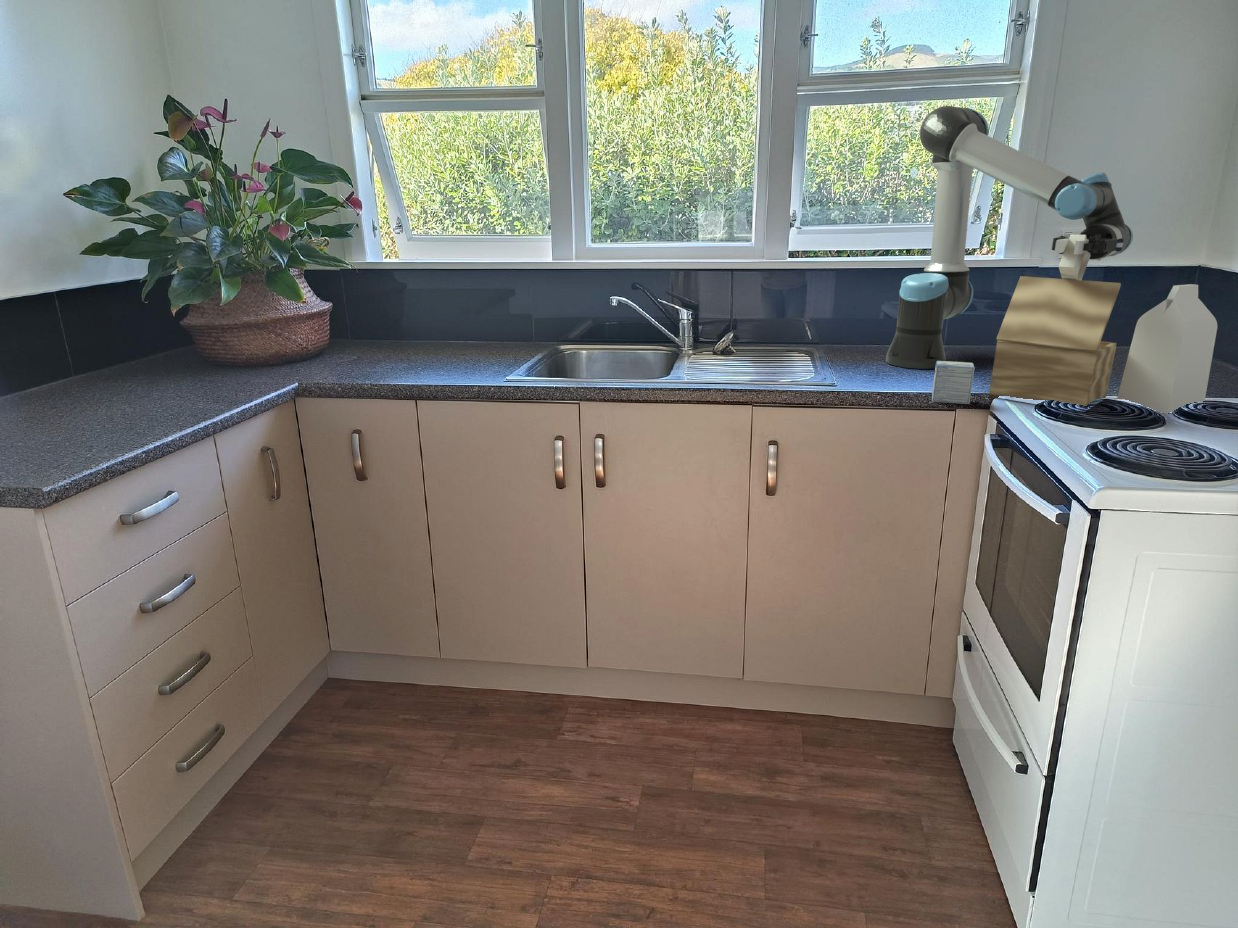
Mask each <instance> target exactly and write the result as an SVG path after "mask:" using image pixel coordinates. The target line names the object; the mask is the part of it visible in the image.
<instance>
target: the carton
mask: <svg viewBox="0 0 1238 928" xmlns="http://www.w3.org/2000/svg"><path fill="white" fill-rule="evenodd" d="M1117 345H1118V344H1117V342H1111V341H1102V340H1101V341H1100V344H1099V347H1098V350H1097V352H1096V353H1094V352H1086V351H1078V350H1070V349H1061V348H1053V347H1045V346H1037V345H1028V344H1020V343H1012V342H1004V341H997V340H996V347H995V352H994V353H995V354H994V358H993V359H994V361H993V366H992V372H991V379H990V384H989V385H990V387H989V393H988V398H992V399H997V398H998V397H999V396H1010V397H1016V398H1023V399H1033V400H1045V401H1046V400H1054V401H1059V402H1065V403H1071V404H1079V405H1083V406H1087V405H1088V404H1090V402H1092V401H1093V400H1094V399H1099V398H1106V399H1107V393H1108V390H1109V385H1110V379H1111V374H1112V369H1113V364H1114V359H1115V354H1116V349H1117Z"/></svg>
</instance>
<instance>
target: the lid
mask: <svg viewBox="0 0 1238 928" xmlns="http://www.w3.org/2000/svg"><path fill="white" fill-rule="evenodd" d="M1068 238H1069V240H1068V243H1067V245H1066V248H1065V251H1064V253H1063V254H1062V257H1061V259H1060V261H1059V264H1058V270H1059V273H1060V277H1061V278H1056V277H1055V278H1052V277H1051V278H1050V277H1041V276H1040V277H1039V276H1038V277H1036V276H1025V275H1024V276H1023V275H1021V276H1019V278H1018V279H1019V280H1018V281H1017V284H1016V287H1015V289H1014V291H1013V294H1012V296H1011V300H1010V302H1009V306H1008V308H1007V310H1006V312H1005V315H1004V318H1003V319H1002V323H1001V325H1000V328H999V330H998V334H997V336H996V342H997V341H1004V342H1012V343H1020V344H1028V345H1037V346H1045V347H1053V348H1061V349H1070V350H1078V351H1086V352H1094V353H1096V352H1097V350H1098V347H1099V344H1100V341H1102V338H1103V335H1104V333H1105V330H1106V327H1107V326H1108V325H1107V324H1108V322H1109V319H1110V318H1111V317H1110V316H1111V313H1112V311H1113V309H1114V305H1115V303H1116V300H1117V297H1118V295H1119V292H1120V290H1121V287H1122V284H1121V282H1109V281H1096V280H1095V281H1094V280H1083V276H1084V275H1085V272H1086V269H1087V266H1088V263H1089V261H1090V260H1091V259H1090V256H1091V255H1090V253H1089V252H1087V253H1082V254H1074V249H1075V244H1076V241H1079V240H1085V239H1086V240H1087V237H1086V235H1080V234H1070V235H1069V237H1068Z"/></svg>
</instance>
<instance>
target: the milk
mask: <svg viewBox="0 0 1238 928" xmlns="http://www.w3.org/2000/svg"><path fill="white" fill-rule="evenodd" d="M1217 331H1218V322H1217V319H1216V317H1215V316H1214V315H1213V313H1212V312H1211V311H1210V310H1209V309H1208V308H1207V306H1206V305H1205V304H1204V303H1203V301H1202V300H1201V299H1200V298H1199V284H1194V283H1193V284H1192V283H1191V284H1190V283H1189V284H1177V285H1173V286H1172V288H1171V289H1170V291H1169V293H1168V296H1167V298H1166V299H1164V300H1163V301H1161V302H1160V303H1158V304H1157V305H1156V306H1154V307H1152V308H1151V309H1149V310H1148V311H1146V312H1145V313H1143V314H1142V315H1141V316H1140V317H1139V318H1138V319H1137V322H1136V325H1135V327H1134V332H1133V336H1132V340H1131V344H1130V347H1129V350H1128V355H1127V359H1126V364H1125V367H1124V370H1123V374H1122V379H1121V381H1120V385H1119V390H1118V392H1117V397H1116V400H1117V399H1125V400H1129V401H1131V402H1135V403H1138V404H1141V405H1143V406H1145V407H1149V408H1151V409H1153V410H1156V411H1157V412H1156V413H1159V412H1162V413H1161V414H1163V413H1165V414H1164V415H1169V414H1168V413H1170V412H1173V411H1174V410H1176V409H1178V408H1179V407H1182V406H1184V405H1186V404H1190V403H1194V402H1203V401H1205V400H1206V396H1207V395H1206V394H1207V391H1208V390H1207V389H1208V384H1209V378H1210V372H1211V367H1212V360H1213V355H1214V348H1215V344H1216V337H1217Z"/></svg>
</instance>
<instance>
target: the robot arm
mask: <svg viewBox="0 0 1238 928" xmlns="http://www.w3.org/2000/svg"><path fill="white" fill-rule="evenodd" d="M989 131H990V129H989V123H988V122H987V119H986V118H985V117H984V115H983V114H981V113H980V112H979V111H977V110H975V109H973V108H970V107H961V106H960V107H959V106H952V105H944V106H939V107H938V108H937V107H936V108H935V109H933V110H932V111H931V112H929V113H928V114H927V115H926V117H925V118H924V119H923V120H922V123H921V126H920V131H919V139H920V143H921V144H922V146H923V149H925V151H927V152H928V153H931V154H932V162H931V163H932V164H931V165H932V166H933V167H934V168H935V170H936V171H937V176H936V187H935V190H936V191H935V201H934V211H933V212H934V213H933V227H932V228H933V229H932V238H931V249H930V250H931V252H930V262H929V264H928V265H927V266H926V267H925V268H924V269H923V273H922V272H921V273H914V274H911V275H908V276H905V277H904V278H903V279H902V281H901V283H900V289H899V299H898V309H897V317H896V318H897V319H896V326H895V327H896V328H895V334H894V337H893V339H892V341H891V344H890V346H889V348H888V350H887V352H886V357H885V362H886V363H887V364H889V365H892V366H895V367H901V368H908V369H918V370H919V369H921V370H922V369H923V370H927V369H928V370H929V369H935V367H936V361H946V352H945V347H944V343H943V338H942V333H943V326H944V320H949V319H953V318H955V317H957V316H959V315H961V314H962V313H964V312H965V311H966V310H967V309H968V308H969V306H970V305H971V303H972V302H973V297H974V287H973V285H972V283H971V281H970V280H969V278H970V268H969V267H968V266H967V265H966V263H965V254H966V246H967V245H966V244H967V233H968V232H967V231H968V223H969V211H970V199H971V189H972V179H973V170H974V169H975V170H977V171H979V172H980V173H982V174H985V175H986V176H988V177H990V178H992V179H993V180H996V181H998V182H1000V183H1002V184H1005V185H1006V186H1008V187H1010V188H1012V189H1015V190H1016V191H1018V192H1020V193H1022V194H1024V195H1026V196H1028V197H1030V198H1032V199H1034V200H1036V201H1038V202H1039V203H1042V204H1044V205H1046V206H1048V207H1049V208H1051V209H1052V210H1054V211H1056V212H1057V213H1058V215H1059V216H1061V218H1062V217H1063V218H1065V219H1068V220H1073V221H1074V220H1075V221H1076V220H1081V219H1083V223H1084V225H1085V228H1084V230H1082V231H1081V232H1080V233H1079V235H1086V237H1087V240H1086V239H1085V240H1079V241H1076V244H1075V249H1074V254H1082V253H1087V252H1089V253H1090V255H1091V256H1090V259H1089V260H1096V261H1101V260H1102V259H1103V258H1107V257H1108V258H1109V257H1115V256H1117V255H1119V254H1121V253H1124V251H1127V249H1129V248H1130V246H1131V244H1132V242H1133V239H1134V233H1133V230H1132V229H1131V227H1130V226H1129V225H1127V224H1126V222H1125V220H1124V217H1123V215H1122V213H1121V210H1120V207H1119V205H1118V202H1117V198H1116V195H1115V193H1114V191H1113V190H1114V189H1113V188H1112V186H1113V185H1112V183H1111V182H1110V179H1109V178H1108V175H1107V174H1106V172H1098V173H1094V174H1091V175H1089V176H1087V177H1084V178H1082V179H1080V180H1079V179H1078V178H1075V177H1073V176H1070V175H1069V174H1067V173H1065V172H1063V171H1061V170H1059V169H1057V168H1055V167H1052V166H1051V165H1049V164H1047V163H1044V162H1042V161H1040V160H1038V159H1037V158H1034V157H1032V156H1030V155H1028V154H1026V153H1024V152H1022V151H1020V150H1018V149H1016V148H1013V147H1012V146H1010V145H1008V144H1005V143H1003V142H1002V141H1000V140H997V139H995V138H993V137H991V136H989V133H990V132H989ZM1069 238H1070V237H1069V236H1064V235H1059V236H1058V237H1054V238H1053V239H1052V245H1051V250H1052V251H1054V253H1053V254H1058V255H1063V253H1064V251H1065V248H1066V245H1067V243H1068V240H1069Z"/></svg>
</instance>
